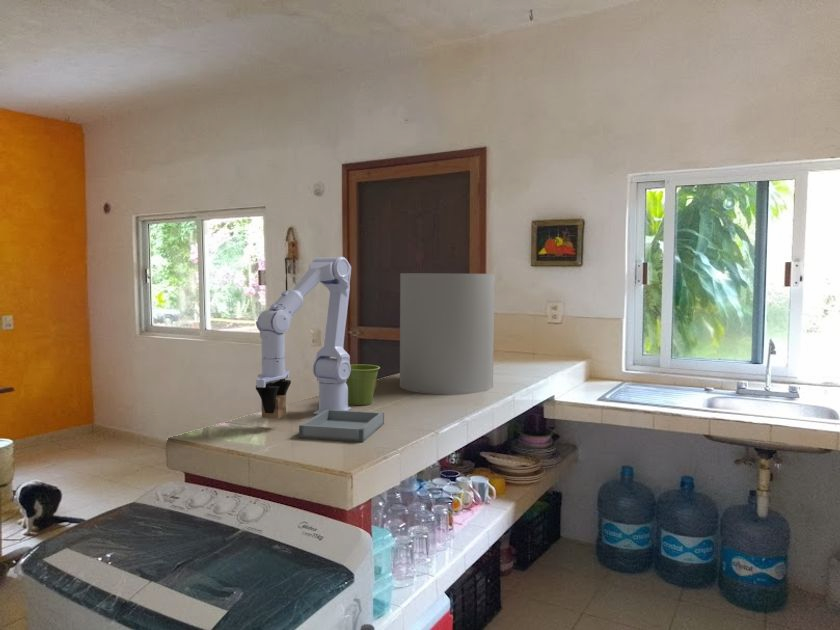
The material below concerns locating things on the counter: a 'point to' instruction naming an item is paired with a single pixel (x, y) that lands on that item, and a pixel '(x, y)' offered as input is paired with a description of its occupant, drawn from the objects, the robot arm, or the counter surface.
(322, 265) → the robot arm
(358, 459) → the counter surface
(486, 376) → the cylinder container
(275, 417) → the block
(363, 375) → the plant pot
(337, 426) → the bin
